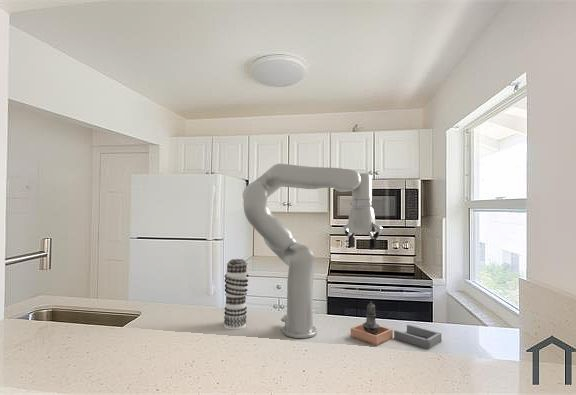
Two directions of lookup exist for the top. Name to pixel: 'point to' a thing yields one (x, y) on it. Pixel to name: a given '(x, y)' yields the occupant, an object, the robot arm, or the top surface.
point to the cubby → (426, 343)
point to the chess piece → (371, 320)
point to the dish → (381, 337)
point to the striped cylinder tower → (235, 294)
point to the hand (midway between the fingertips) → (361, 248)
